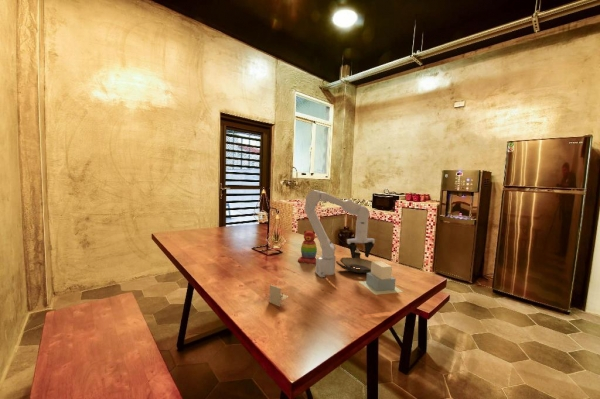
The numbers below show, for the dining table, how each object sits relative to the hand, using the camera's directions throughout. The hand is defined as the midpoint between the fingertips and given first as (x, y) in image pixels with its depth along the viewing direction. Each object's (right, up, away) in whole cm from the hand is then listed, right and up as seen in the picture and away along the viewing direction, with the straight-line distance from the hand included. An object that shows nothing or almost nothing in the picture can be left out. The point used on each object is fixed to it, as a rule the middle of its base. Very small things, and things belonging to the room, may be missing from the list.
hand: (359, 257), depth 130 cm
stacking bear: (-25, -8, +24) cm, 35 cm away
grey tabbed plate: (-39, -12, -29) cm, 50 cm away
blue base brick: (+7, -11, -12) cm, 17 cm away
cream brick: (+7, -6, -12) cm, 15 cm away
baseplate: (+6, -12, -12) cm, 18 cm away
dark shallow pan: (+2, -10, +12) cm, 16 cm away
